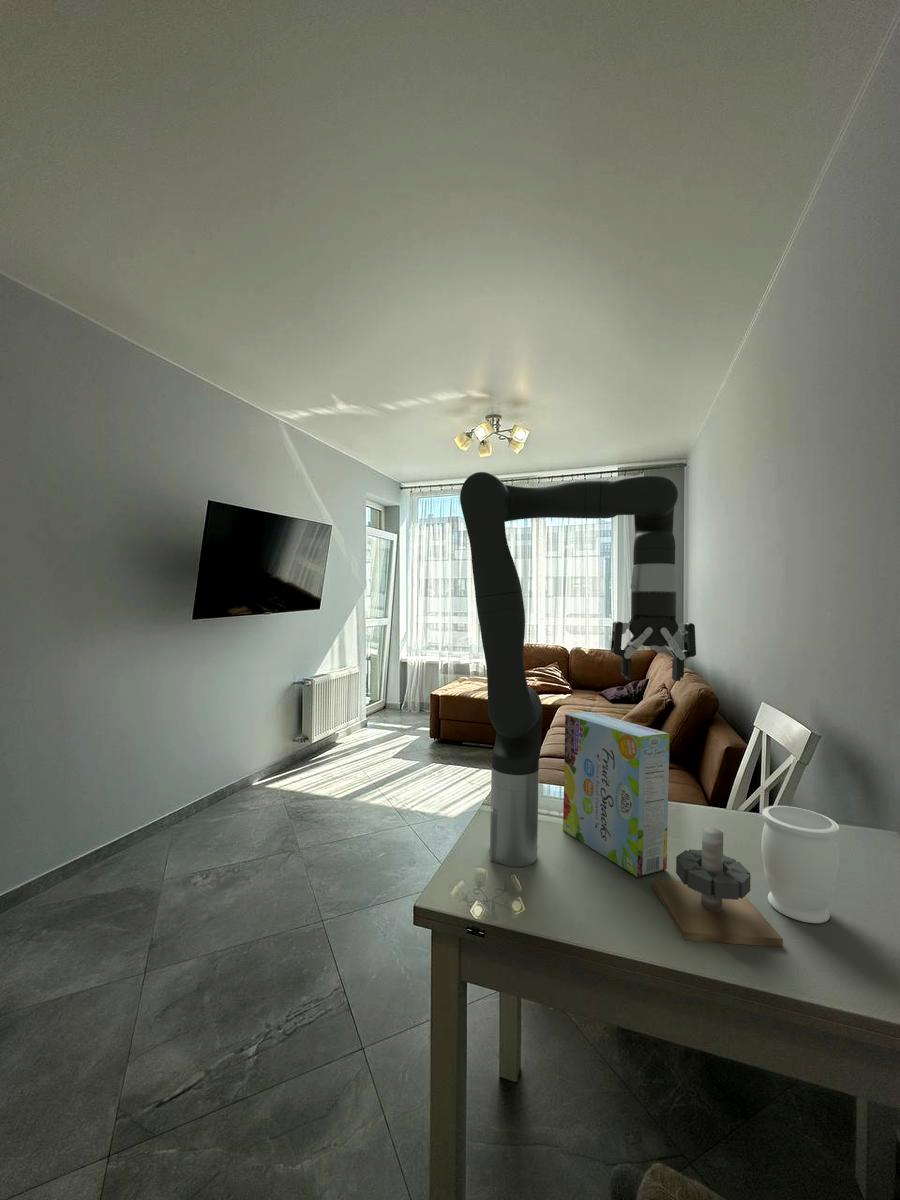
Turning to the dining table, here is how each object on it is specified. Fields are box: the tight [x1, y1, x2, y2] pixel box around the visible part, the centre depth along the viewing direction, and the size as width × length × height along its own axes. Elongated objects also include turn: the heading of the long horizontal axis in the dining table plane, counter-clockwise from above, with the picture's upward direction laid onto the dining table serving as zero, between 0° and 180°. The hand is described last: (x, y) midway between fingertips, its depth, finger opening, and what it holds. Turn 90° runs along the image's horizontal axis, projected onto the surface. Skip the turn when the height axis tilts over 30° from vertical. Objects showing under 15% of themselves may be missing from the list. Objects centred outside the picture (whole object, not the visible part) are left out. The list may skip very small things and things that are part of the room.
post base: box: [652, 827, 784, 948], centre depth 80 cm, size 14×14×13 cm
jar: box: [760, 805, 840, 924], centre depth 82 cm, size 11×10×15 cm
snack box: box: [562, 711, 671, 878], centre depth 101 cm, size 22×9×26 cm, turn 26°
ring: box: [675, 849, 752, 900], centre depth 80 cm, size 10×10×2 cm
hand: (652, 679), depth 89 cm, fingers open, 8 cm apart
